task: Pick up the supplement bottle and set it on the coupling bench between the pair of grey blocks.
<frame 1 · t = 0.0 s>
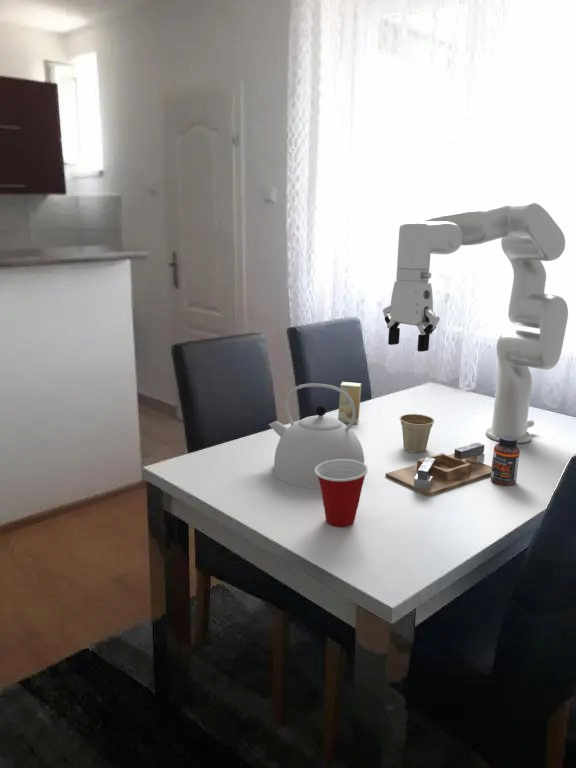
hand: (407, 347, 151), 31 cm above the table, tool pointing down, fingers open, 9 cm apart
plastic cup: (338, 521, 130), on the table
coupling bench: (443, 474, 155), on the table
pair of grey blocks: (443, 474, 155), resting on coupling bench
flower pot: (414, 449, 173), on the table
skincare box: (348, 421, 197), on the table
kettle: (314, 471, 157), on the table
supplement bottle: (503, 482, 152), on the table
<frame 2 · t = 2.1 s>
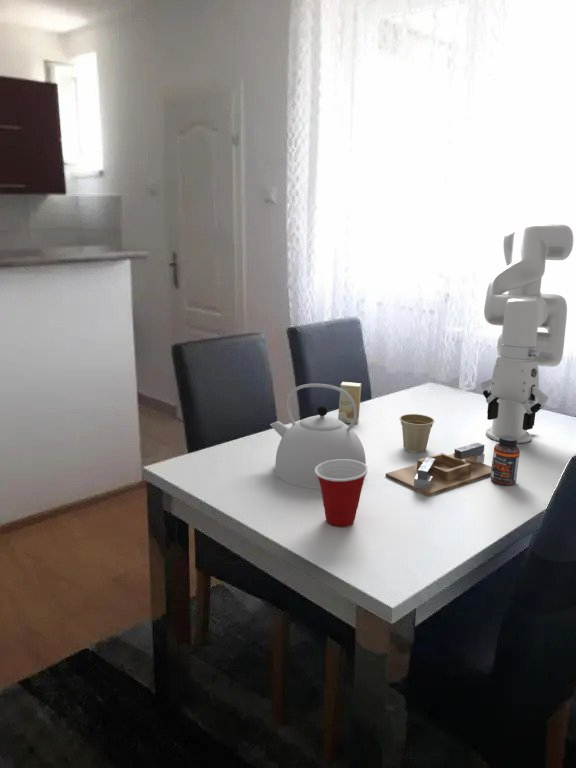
hand: (509, 423, 148), 15 cm above the table, tool pointing down, fingers open, 9 cm apart
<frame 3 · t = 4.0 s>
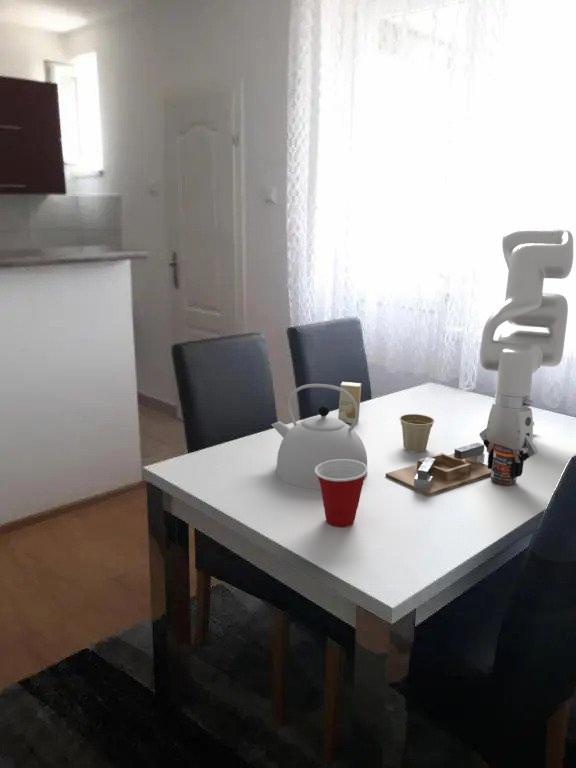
hand: (504, 471, 151), 3 cm above the table, tool pointing down, fingers closed on supplement bottle, 6 cm apart
supplement bottle: (503, 482, 152), on the table, touching gripper
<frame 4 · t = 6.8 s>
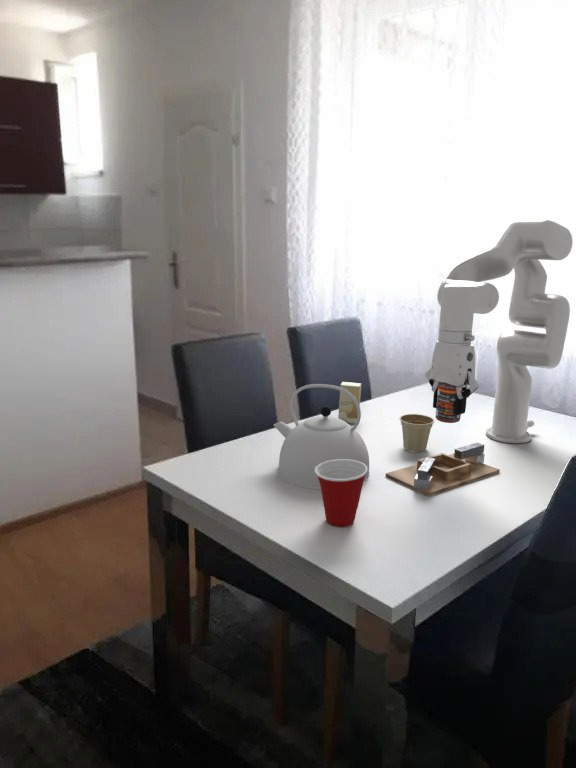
hand: (448, 409, 151), 17 cm above the table, tool pointing down, fingers closed on supplement bottle, 6 cm apart
supplement bottle: (447, 420, 152), point 14 cm above the table, touching gripper
when the fingers open (5 cm above the table, at t = 9.6 s): supplement bottle drops 2 cm, resting on coupling bench.
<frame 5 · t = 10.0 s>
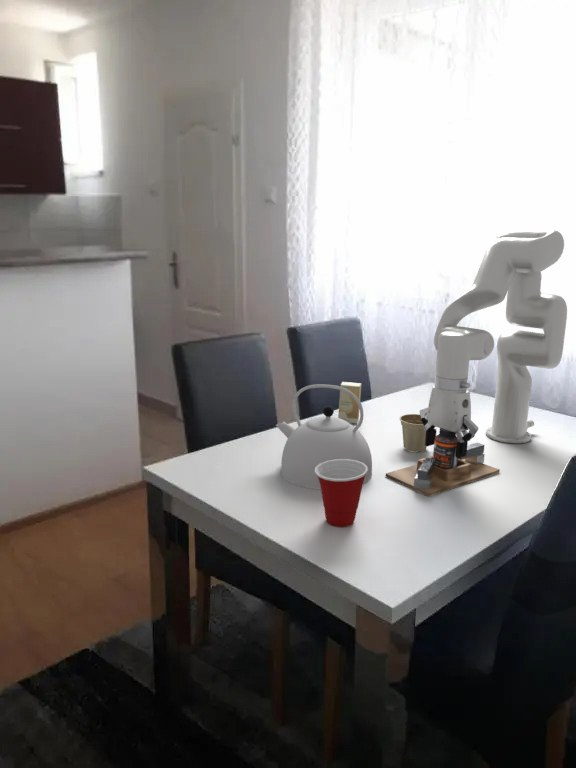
hand: (445, 450, 154), 6 cm above the table, tool pointing down, fingers open, 9 cm apart
supplement bottle: (444, 472, 155), point 1 cm above the table, touching coupling bench
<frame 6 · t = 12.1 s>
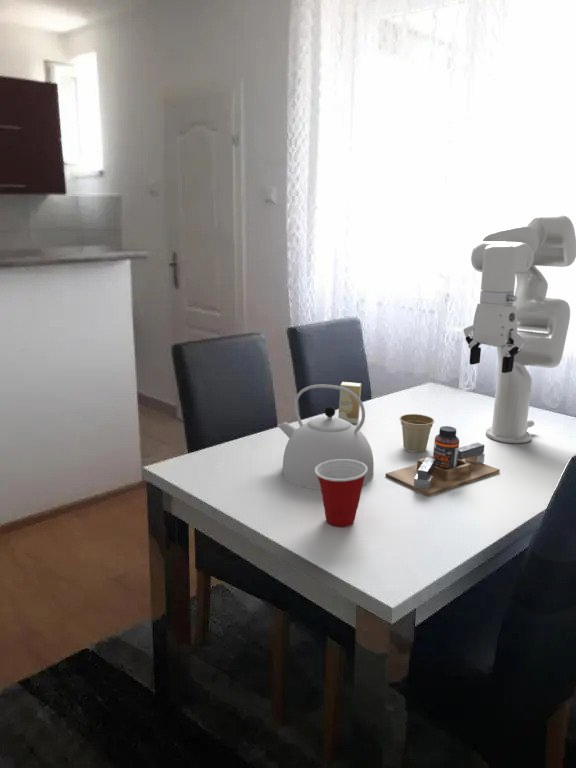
hand: (490, 367, 153), 26 cm above the table, tool pointing down, fingers open, 9 cm apart
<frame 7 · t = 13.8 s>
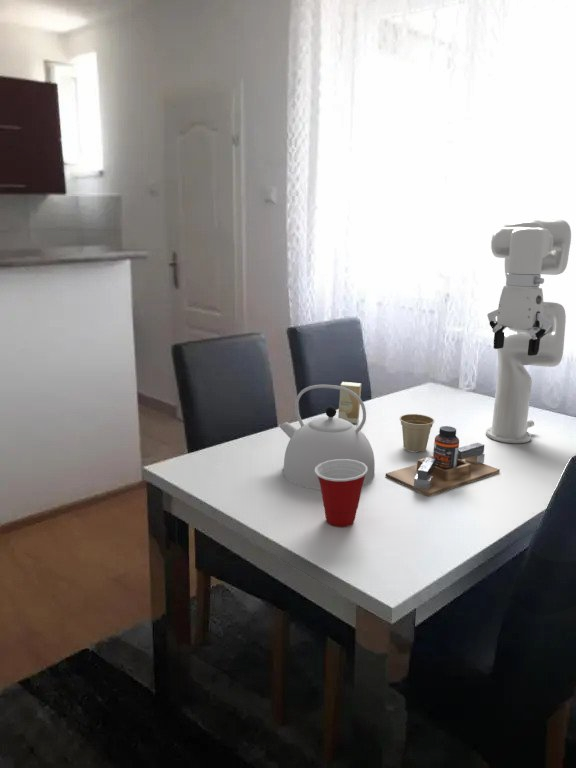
hand: (515, 351, 153), 30 cm above the table, tool pointing down, fingers open, 9 cm apart
at the end: supplement bottle 0.1 cm off-centre on the coupling bench, point 0.6 cm above the coupling bench's base; supplement bottle tilted 0°; the gripper is holding nothing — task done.
